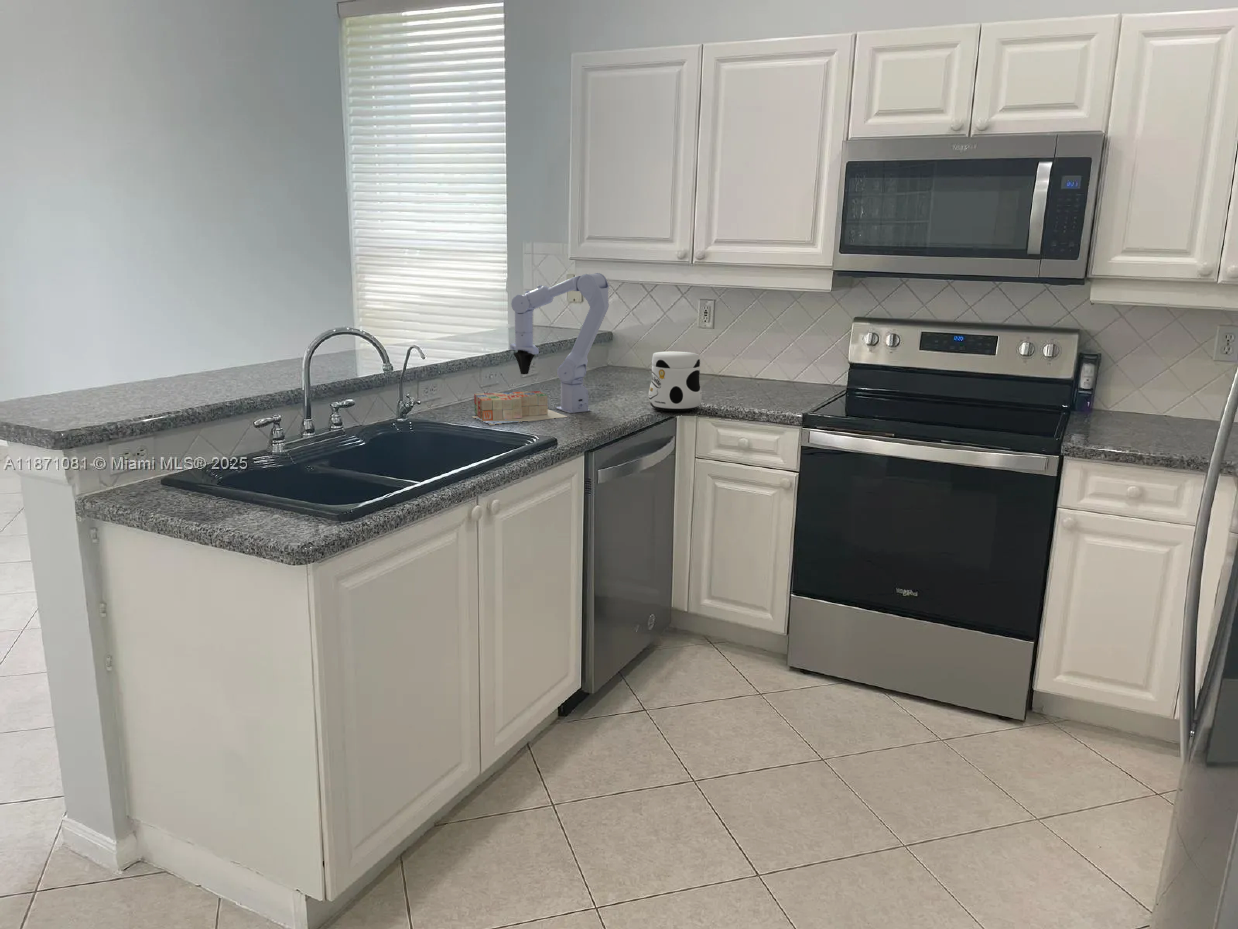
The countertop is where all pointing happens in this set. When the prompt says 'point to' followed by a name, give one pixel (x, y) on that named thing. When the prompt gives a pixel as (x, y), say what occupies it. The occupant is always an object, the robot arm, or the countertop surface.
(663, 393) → the milk container
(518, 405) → the stack of blocks
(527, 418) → the mat
